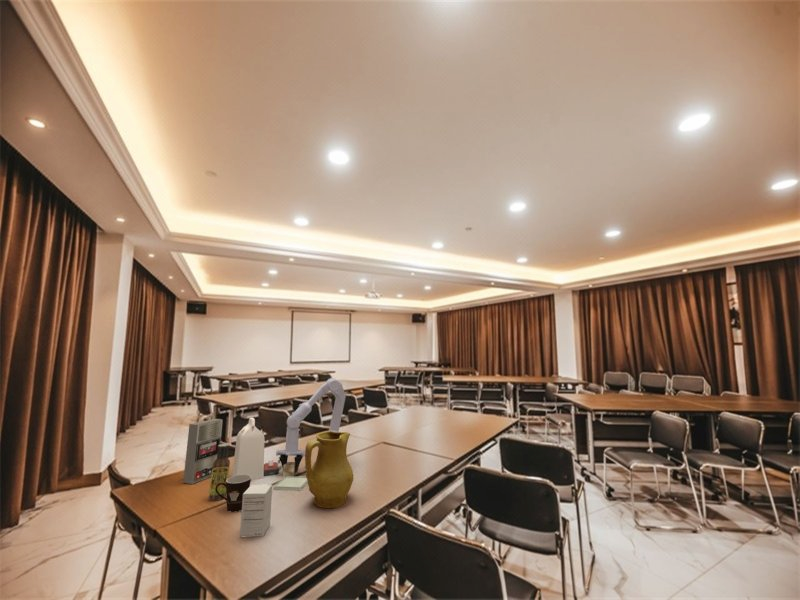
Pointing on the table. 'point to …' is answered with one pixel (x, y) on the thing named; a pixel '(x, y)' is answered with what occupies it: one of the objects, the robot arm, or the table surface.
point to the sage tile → (291, 483)
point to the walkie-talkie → (272, 468)
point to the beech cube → (289, 469)
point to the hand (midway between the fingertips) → (290, 471)
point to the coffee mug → (235, 491)
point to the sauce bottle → (219, 473)
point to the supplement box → (256, 510)
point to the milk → (249, 452)
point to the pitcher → (329, 469)
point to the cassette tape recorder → (202, 449)
